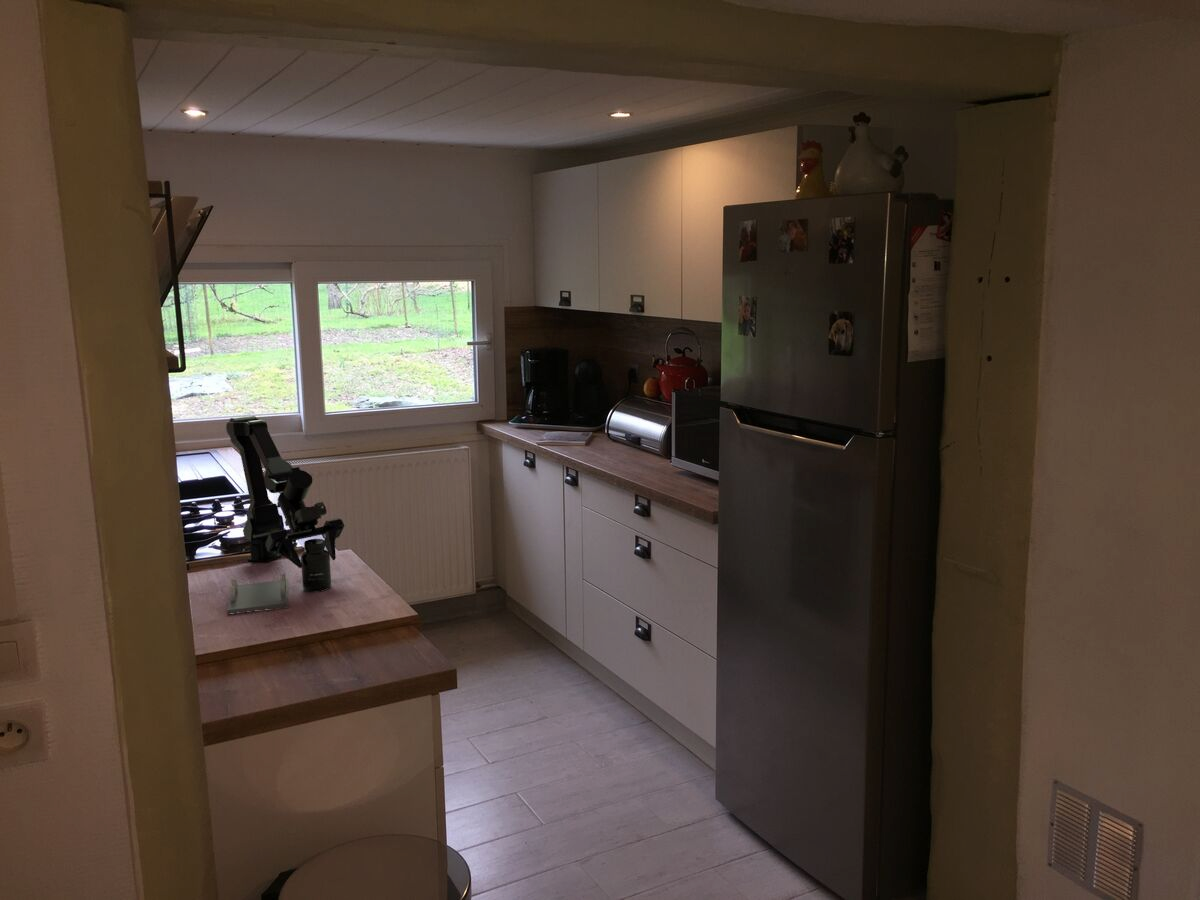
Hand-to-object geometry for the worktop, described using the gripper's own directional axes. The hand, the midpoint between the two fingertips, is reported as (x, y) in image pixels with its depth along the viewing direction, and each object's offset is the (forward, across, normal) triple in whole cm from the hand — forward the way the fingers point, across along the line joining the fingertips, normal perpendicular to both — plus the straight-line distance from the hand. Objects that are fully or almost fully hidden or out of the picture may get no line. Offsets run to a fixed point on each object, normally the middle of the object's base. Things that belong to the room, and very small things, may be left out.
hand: (317, 563), depth 236 cm
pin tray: (+2, -14, +7) cm, 16 cm away
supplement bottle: (+4, 0, +6) cm, 7 cm away
